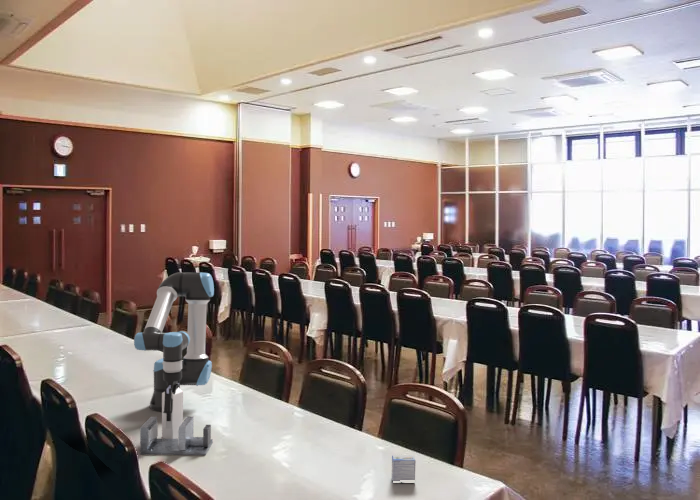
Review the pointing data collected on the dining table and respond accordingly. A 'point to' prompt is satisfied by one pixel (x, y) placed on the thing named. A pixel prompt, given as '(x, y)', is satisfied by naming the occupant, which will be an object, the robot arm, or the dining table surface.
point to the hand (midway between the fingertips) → (172, 424)
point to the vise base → (164, 442)
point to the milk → (177, 415)
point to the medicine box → (403, 467)
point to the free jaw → (187, 435)
